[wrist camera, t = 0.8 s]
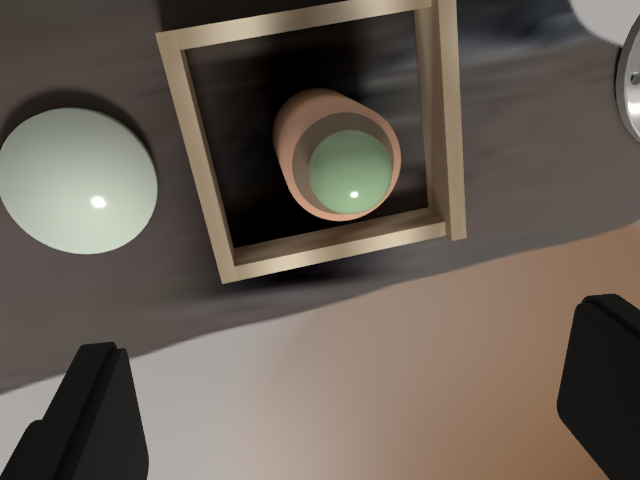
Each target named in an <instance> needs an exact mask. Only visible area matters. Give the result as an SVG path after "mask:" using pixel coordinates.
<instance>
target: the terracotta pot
mask: <svg viewBox="0 0 640 480" xmlns="http://www.w3.org/2000/svg"><path fill="white" fill-rule="evenodd" d="M272 141H273V147H274V150H275V153H276V156H277V158H278V161H279V164H280V166H281V169H282V172H283V174H284V177H285V180H286V182H287V185H288V187H289V190H290V192H291V193H292V195H293V197H294V198H295V200H296V201H297V202H298V203H299V204H300V205H301V206H302V207H303V208H304V209H305V210H307V211H308V212H309V213H311V214H313V215H315V216H317V217H320V218H323V219H327V220H333V221H346V220H352V219H356V218H359V217H362V216H364V215H366V214H368V213H370V212H372V211H373V210H374V209H376V208H377V207H378V206H379V205H381V204H382V203H383V202H384V201H385V199H386V198H387V197H388V196H389V194H390V193H391V191H392V190H393V188H394V186H395V184H396V182H397V179H398V176H399V172H400V166H401V152H400V146H399V143H398V139H397V137H396V135H395V133H394V131H393V129H392V128H391V126H390V125H389V124H388V123H387V121H386V120H385V119H384V118H382V117H381V116H380V115H379V114H377V113H376V112H374V111H373V110H371V109H369V108H367V107H365V106H363V105H362V104H360V103H358V102H356V101H354V100H352V99H350V98H348V97H347V96H345V95H343V94H341V93H339V92H337V91H334V90H331V89H327V88H311V89H307V90H304V91H301V92H299V93H297V94H295V95H293V96H292V97H291V98H290V99H288V100H287V101H286V102H285V103H284V104H283V106H282V107H281V108H280V110H279V112H278V113H277V116H276V118H275V120H274V124H273V130H272Z"/></svg>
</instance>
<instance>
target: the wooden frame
mask: <svg viewBox="0 0 640 480" xmlns="http://www.w3.org/2000/svg"><path fill="white" fill-rule="evenodd" d="M409 10H414V21H415V35H416V48H417V61H418V74H419V88H420V101H421V114H422V128H423V141H424V154H425V168H426V181H427V194H428V208H423V209H418V210H414V211H409V212H404V213H399V214H395V215H390V216H385V217H380V218H376V219H371V220H366V221H361V222H357V223H352V224H347V225H342V226H338V227H333V228H328V229H323V230H319V231H314V232H309V233H304V234H300V235H295V236H290V237H285V238H281V239H276V240H271V241H266V242H262V243H257V244H252V245H247V246H243V247H238V248H234V246H233V242H232V238H231V234H230V230H229V226H228V222H227V218H226V214H225V210H224V206H223V202H222V198H221V194H220V190H219V186H218V182H217V178H216V174H215V170H214V166H213V162H212V158H211V154H210V150H209V146H208V142H207V138H206V134H205V130H204V126H203V122H202V118H201V114H200V110H199V106H198V102H197V98H196V94H195V90H194V86H193V82H192V78H191V74H190V69H189V65H188V61H187V57H186V53H185V49H189V48H195V47H201V46H207V45H212V44H218V43H224V42H230V41H235V40H241V39H247V38H253V37H259V36H264V35H270V34H276V33H282V32H287V31H293V30H299V29H305V28H310V27H316V26H322V25H328V24H334V23H339V22H345V21H351V20H357V19H362V18H368V17H374V16H380V15H386V14H391V13H397V12H403V11H409ZM155 34H156V38H157V42H158V45H159V49H160V53H161V57H162V60H163V64H164V68H165V71H166V75H167V79H168V83H169V86H170V90H171V94H172V98H173V101H174V105H175V109H176V113H177V116H178V120H179V124H180V128H181V131H182V135H183V139H184V142H185V146H186V150H187V154H188V157H189V161H190V165H191V169H192V172H193V176H194V180H195V184H196V187H197V191H198V195H199V198H200V202H201V206H202V210H203V213H204V217H205V221H206V225H207V228H208V232H209V236H210V240H211V243H212V247H213V251H214V254H215V258H216V262H217V266H218V269H219V273H220V277H221V281H222V284H224V283H229V282H233V281H238V280H242V279H247V278H252V277H256V276H261V275H266V274H270V273H275V272H279V271H284V270H289V269H293V268H298V267H302V266H307V265H312V264H316V263H321V262H326V261H330V260H335V259H339V258H344V257H349V256H353V255H358V254H363V253H367V252H372V251H376V250H381V249H386V248H390V247H395V246H400V245H404V244H409V243H413V242H418V241H423V240H427V239H432V238H437V237H441V236H447V237H448V238H449V239H450V240H451V241H455V240H459V239H464V238H466V217H465V194H464V171H463V149H462V126H461V103H460V80H459V58H458V35H457V12H456V0H348V1H343V2H337V3H331V4H325V5H319V6H313V7H307V8H301V9H295V10H289V11H284V12H278V13H272V14H266V15H260V16H254V17H248V18H242V19H236V20H231V21H225V22H219V23H213V24H207V25H201V26H195V27H189V28H183V29H177V30H172V31H166V32H160V33H155Z"/></svg>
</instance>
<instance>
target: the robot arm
mask: <svg viewBox="0 0 640 480" xmlns="http://www.w3.org/2000/svg"><path fill="white" fill-rule="evenodd" d="M616 100H617V105H618V109H619V113H620V117H621V119H622V121H623V123H624V125H625V127H626V129H627V130H628V131H629V132H630V134H631V135H632V136H633V137H634V138H635V139H636V140H637V141H638V142H640V15H639V16H638V18H637V19H636V21H635V23H634V24H633V26H632V27H631V30H630V32H629V34H628V36H627V39H626V41H625V43H624V45H623V49H622V52H621V56H620V59H619V63H618V68H617V76H616ZM557 411H558V414H559V417H560V419H561V420H562V422H563V423H564V424H565V425H566V427H567V428H568V429H569V430H570V431H571V433H572V434H573V435H574V436H575V438H576V439H577V440H578V441H579V442H580V444H581V445H582V446H583V447H584V449H585V450H586V451H587V452H588V453H589V455H590V456H591V457H592V458H593V459H594V461H595V462H596V463H597V464H598V466H599V467H600V468H601V469H602V470H603V471H604V473H605V474H606V475H607V477H608V478H609V479H610V480H640V310H639V309H637V308H636V307H634V306H633V305H632V304H630V303H629V302H627V301H626V300H625V299H623V298H622V297H620V296H619V295H616V294H603V295H592V296H587V297H585V298H584V299H583V301H582V303H581V304H578V305H577V307H576V309H575V313H574V318H573V323H572V328H571V333H570V338H569V343H568V348H567V353H566V358H565V364H564V369H563V374H562V379H561V384H560V389H559V394H558V399H557ZM148 468H149V457H148V450H147V446H146V441H145V436H144V431H143V426H142V422H141V416H140V411H139V407H138V402H137V397H136V392H135V387H134V383H133V377H132V372H131V368H130V363H129V358H128V354H127V351H126V349H125V348H121V349H117V346H116V344H115V343H114V342H105V343H94V344H84V345H81V347H80V348H79V350H78V351H77V353H76V355H75V357H74V359H73V361H72V363H71V365H70V367H69V369H68V371H67V373H66V375H65V376H64V378H63V380H62V383H61V384H60V386H59V388H58V390H57V392H56V394H55V396H54V398H53V400H52V401H51V403H50V405H49V408H48V409H47V411H46V413H45V415H44V417H43V419H42V420H35V421H34V422H32V423H30V425H29V426H28V427H27V429H26V430H25V432H24V434H23V436H22V437H21V439H20V441H19V443H18V445H17V447H16V448H15V450H14V452H13V454H12V456H11V457H10V459H9V461H8V463H7V465H6V467H5V469H4V470H3V472H2V474H1V476H0V480H147V475H148Z"/></svg>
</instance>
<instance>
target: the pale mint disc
mask: <svg viewBox="0 0 640 480" xmlns="http://www.w3.org/2000/svg"><path fill="white" fill-rule="evenodd" d="M158 190H159V182H158V174H157V169H156V166H155V163H154V160H153V158H152V156H151V154H150V152H149V150H148V149H147V147H146V146H145V144H144V143H143V142H142V140H141V139H140V138H139V137H138V136H137V135H136V134H135V133H134V132H133V131H132V130H131V129H130V128H129V127H127V126H126V125H124V124H123V123H122V122H120V121H119V120H117V119H115V118H113V117H111V116H109V115H107V114H104V113H102V112H99V111H95V110H91V109H87V108H79V107H64V108H56V109H52V110H48V111H45V112H43V113H41V114H38V115H36V116H33V117H31V118H29V119H28V120H26V121H24V122H23V123H21V124H20V125H19V126H18V127H16V128H15V129H14V130H13V131H12V133H11V134H10V135H9V136H8V138H7V139H6V141H5V142H4V144H3V146H2V148H1V150H0V196H1V199H2V201H3V203H4V205H5V207H6V209H7V211H8V212H9V213H10V215H11V216H12V218H13V219H14V220H15V221H16V222H17V224H18V225H19V226H20V227H21V228H22V229H23V230H25V231H26V232H27V233H28V234H29V235H31V236H32V237H34V238H35V239H37V240H38V241H40V242H42V243H44V244H46V245H48V246H50V247H53V248H55V249H58V250H62V251H65V252H70V253H78V254H95V253H102V252H107V251H110V250H113V249H116V248H118V247H121V246H123V245H124V244H126V243H128V242H129V241H131V240H132V239H133V238H135V237H136V236H137V235H138V234H139V233H140V232H141V231H142V230H143V228H144V227H145V226H146V224H147V223H148V221H149V219H150V217H151V216H152V213H153V211H154V208H155V206H156V203H157V198H158Z"/></svg>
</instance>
